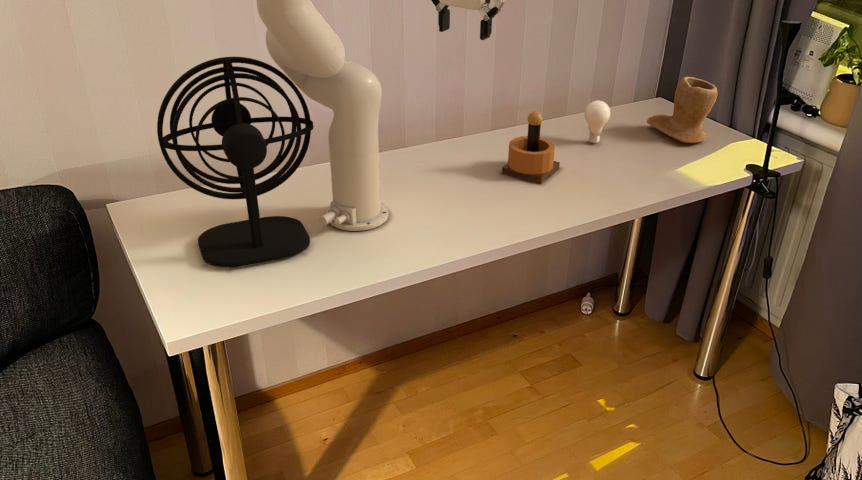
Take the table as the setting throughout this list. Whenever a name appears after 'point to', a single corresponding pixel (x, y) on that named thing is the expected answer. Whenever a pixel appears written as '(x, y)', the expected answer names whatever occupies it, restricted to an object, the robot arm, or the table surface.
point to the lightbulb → (596, 118)
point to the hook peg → (534, 131)
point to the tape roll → (531, 156)
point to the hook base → (534, 178)
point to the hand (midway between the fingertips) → (464, 34)
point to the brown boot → (687, 111)
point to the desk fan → (240, 162)
